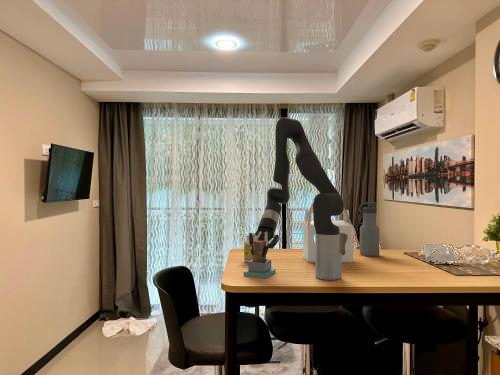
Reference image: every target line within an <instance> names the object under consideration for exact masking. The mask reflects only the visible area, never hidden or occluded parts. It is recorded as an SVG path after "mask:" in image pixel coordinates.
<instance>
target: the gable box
mask: <svg viewBox="0 0 500 375" xmlns="http://www.w3.org/2000/svg"><path fill="white" fill-rule="evenodd" d="M341 214H342V220H341V219H340V220H339V219H331V220H332V223H333V224H334V225H336V226H338V227H339V231H340V234H339V253H341V254H342V263H354V225H353V223H352V220H351V218H350V211H349V209H345V208H344V210H343V212H342V213H341ZM312 215H313V202H312V203H311V204H310V207H309V209H305V216H304V220H303V223H302V224H303V225H302V229H303V230H302V233H303V234H302V235H303V236H302V238H303V239H302V241H303V242H302V250H303V251H302V252H303V254H302V257H303V258H304V259H305V260H306V262H307V263H316V241H315V238H314V237H315V236H316V230H315V227H314V220H313V219H312Z"/></svg>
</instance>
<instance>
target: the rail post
mask: <svg viewBox="0 0 500 375" xmlns="http://www.w3.org/2000/svg"><path fill="white" fill-rule="evenodd" d="M264 246H265V240H255V241H253V262H263V263H264V262H266V259H267V255H266V256H265V257H263V256H262V251H263V248H264Z"/></svg>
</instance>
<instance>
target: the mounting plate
mask: <svg viewBox="0 0 500 375" xmlns="http://www.w3.org/2000/svg"><path fill="white" fill-rule="evenodd" d="M274 274H276V268H271V270H269V271H268V272H266V273H258V272H249V271H248V269H246V270H244V271H243V276H244V275H246V277H253V278H262V279H268V278H269V277H271V276H273V275H274Z"/></svg>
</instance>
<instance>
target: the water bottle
mask: <svg viewBox="0 0 500 375" xmlns="http://www.w3.org/2000/svg"><path fill="white" fill-rule="evenodd" d="M367 205H369V206H367ZM376 205H377V203H376V202H375V201H374V202H373V201H371V202H370V201H367V202H362V203H361V204H359V206H358V212H359V214H358V216H357V217H358V220H357V222H358V225H360V227H359V254H360V255H361V256H363V255H365V256H364V257H379V256H380V227H379V226H378V225H377V207H376ZM361 216H362V222H361Z"/></svg>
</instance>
